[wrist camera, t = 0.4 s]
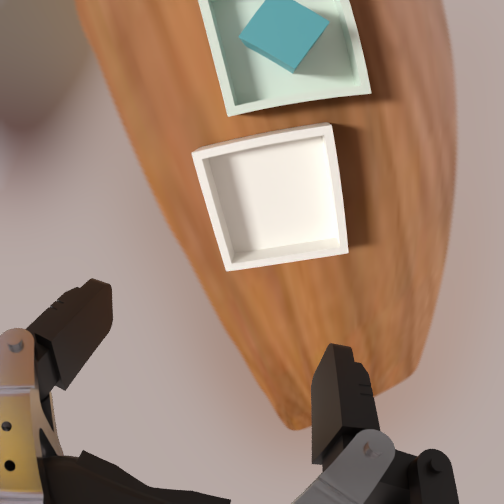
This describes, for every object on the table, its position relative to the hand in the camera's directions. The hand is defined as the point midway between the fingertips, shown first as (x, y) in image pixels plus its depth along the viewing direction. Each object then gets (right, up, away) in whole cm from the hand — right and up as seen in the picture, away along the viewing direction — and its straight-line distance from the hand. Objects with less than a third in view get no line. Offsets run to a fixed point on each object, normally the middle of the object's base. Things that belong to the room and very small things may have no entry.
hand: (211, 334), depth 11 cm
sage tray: (+4, +22, +13) cm, 26 cm away
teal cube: (+4, +22, +12) cm, 26 cm away
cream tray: (+4, +9, +21) cm, 23 cm away
